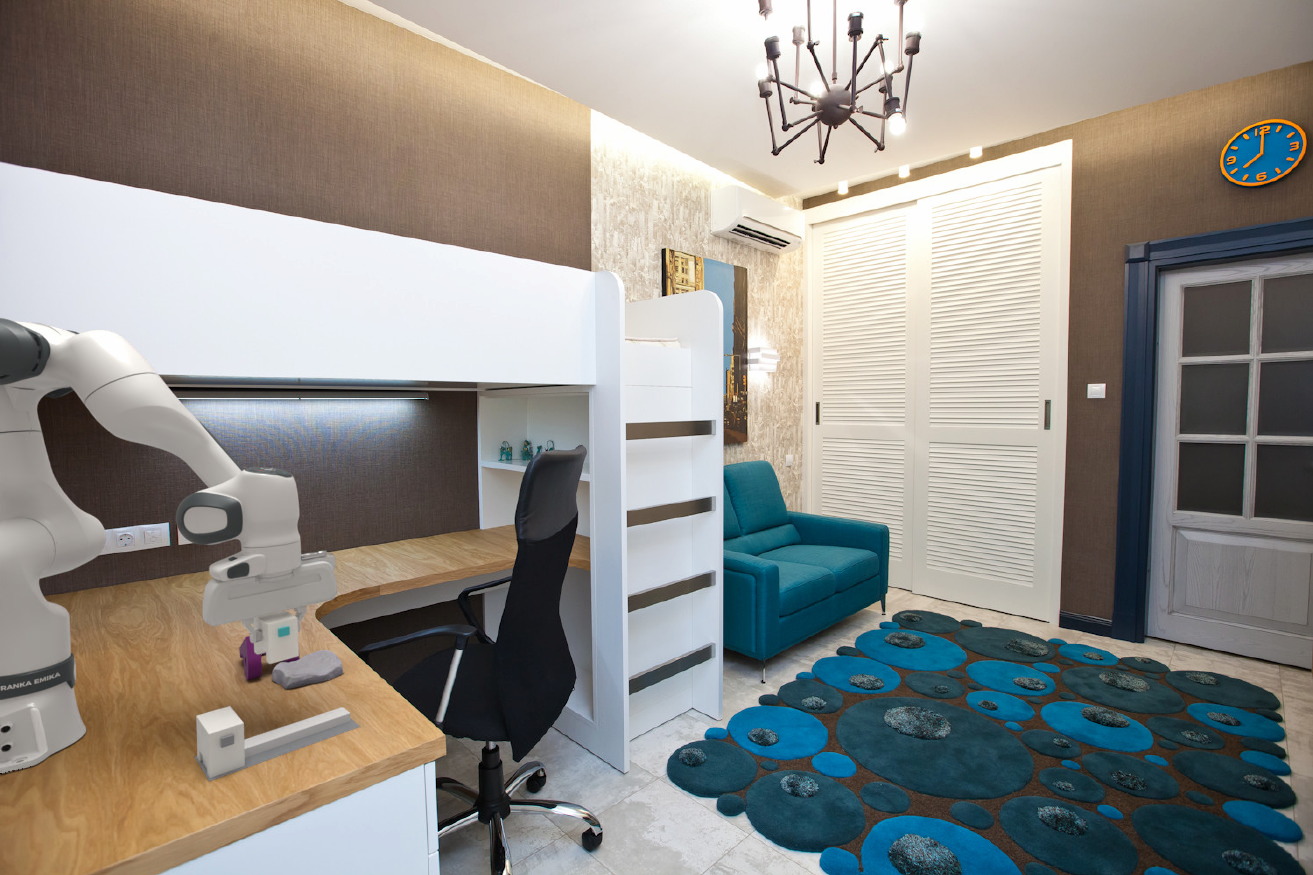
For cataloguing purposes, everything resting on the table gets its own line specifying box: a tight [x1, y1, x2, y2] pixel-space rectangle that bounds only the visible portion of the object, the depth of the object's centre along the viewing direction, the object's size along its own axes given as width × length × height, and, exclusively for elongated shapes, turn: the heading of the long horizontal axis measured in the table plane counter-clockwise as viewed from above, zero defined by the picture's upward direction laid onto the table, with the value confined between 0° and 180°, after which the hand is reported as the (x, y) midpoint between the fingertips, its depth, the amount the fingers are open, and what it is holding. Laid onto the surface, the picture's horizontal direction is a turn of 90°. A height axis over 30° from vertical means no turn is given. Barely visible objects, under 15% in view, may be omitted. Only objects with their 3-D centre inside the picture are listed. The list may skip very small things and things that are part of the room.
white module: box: [252, 610, 300, 665], centre depth 107 cm, size 4×9×7 cm, turn 48°
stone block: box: [271, 649, 344, 690], centre depth 130 cm, size 12×5×10 cm
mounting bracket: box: [238, 635, 300, 681], centre depth 136 cm, size 9×8×18 cm
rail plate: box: [193, 706, 361, 782], centre depth 103 cm, size 22×10×2 cm, turn 137°
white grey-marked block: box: [195, 705, 245, 778], centre depth 96 cm, size 4×9×7 cm, turn 47°
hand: (275, 636), depth 107 cm, fingers closed on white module, 4 cm apart
